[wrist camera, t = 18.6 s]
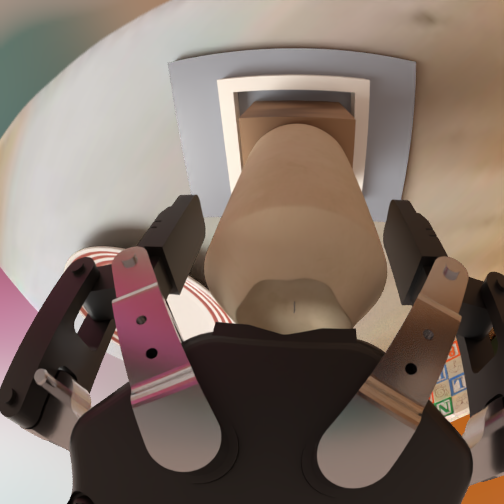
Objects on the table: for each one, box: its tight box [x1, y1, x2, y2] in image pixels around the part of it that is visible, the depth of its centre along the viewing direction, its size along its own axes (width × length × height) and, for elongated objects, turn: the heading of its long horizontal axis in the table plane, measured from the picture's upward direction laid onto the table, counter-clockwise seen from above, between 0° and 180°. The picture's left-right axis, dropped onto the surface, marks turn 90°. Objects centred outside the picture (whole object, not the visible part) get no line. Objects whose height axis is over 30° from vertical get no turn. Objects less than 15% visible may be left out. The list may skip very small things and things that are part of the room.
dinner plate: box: [64, 246, 236, 346], centre depth 37 cm, size 27×27×3 cm
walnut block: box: [239, 100, 356, 170], centre depth 17 cm, size 6×6×6 cm
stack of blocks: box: [429, 341, 470, 422], centre depth 34 cm, size 21×6×12 cm, turn 136°
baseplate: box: [168, 48, 416, 222], centre depth 19 cm, size 18×14×2 cm
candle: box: [204, 124, 387, 334], centre depth 11 cm, size 6×6×10 cm
